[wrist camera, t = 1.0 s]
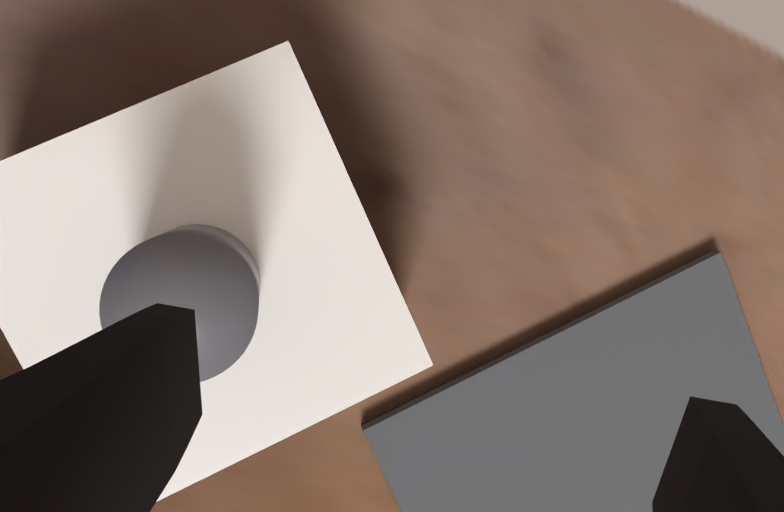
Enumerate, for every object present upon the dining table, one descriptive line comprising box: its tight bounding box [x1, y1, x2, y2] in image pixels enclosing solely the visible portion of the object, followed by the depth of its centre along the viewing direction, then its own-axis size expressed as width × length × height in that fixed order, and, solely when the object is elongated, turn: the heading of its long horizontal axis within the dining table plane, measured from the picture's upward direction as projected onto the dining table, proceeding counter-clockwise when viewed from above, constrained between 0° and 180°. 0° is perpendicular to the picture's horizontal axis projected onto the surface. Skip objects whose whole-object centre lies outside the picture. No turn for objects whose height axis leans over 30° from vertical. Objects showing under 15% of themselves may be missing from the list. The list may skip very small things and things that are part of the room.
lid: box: [0, 41, 433, 502], centre depth 16 cm, size 9×9×5 cm
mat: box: [361, 251, 784, 512], centre depth 25 cm, size 14×14×1 cm
